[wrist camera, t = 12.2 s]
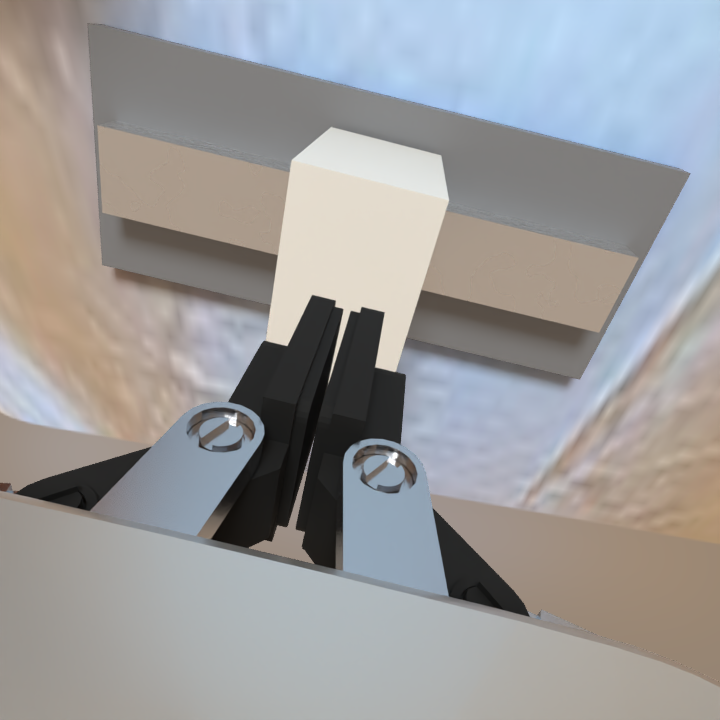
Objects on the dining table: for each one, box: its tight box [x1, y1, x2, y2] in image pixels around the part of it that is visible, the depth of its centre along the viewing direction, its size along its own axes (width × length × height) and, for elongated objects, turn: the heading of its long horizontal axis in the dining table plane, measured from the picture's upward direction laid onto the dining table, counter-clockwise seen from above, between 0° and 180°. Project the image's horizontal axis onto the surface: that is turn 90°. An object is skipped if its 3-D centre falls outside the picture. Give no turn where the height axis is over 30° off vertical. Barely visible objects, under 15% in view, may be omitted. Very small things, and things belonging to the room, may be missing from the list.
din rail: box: [97, 121, 638, 333], centre depth 22 cm, size 22×4×2 cm, turn 78°
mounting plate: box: [88, 23, 690, 379], centre depth 23 cm, size 24×10×1 cm, turn 78°
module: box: [266, 127, 449, 383], centre depth 19 cm, size 4×8×7 cm, turn 167°
